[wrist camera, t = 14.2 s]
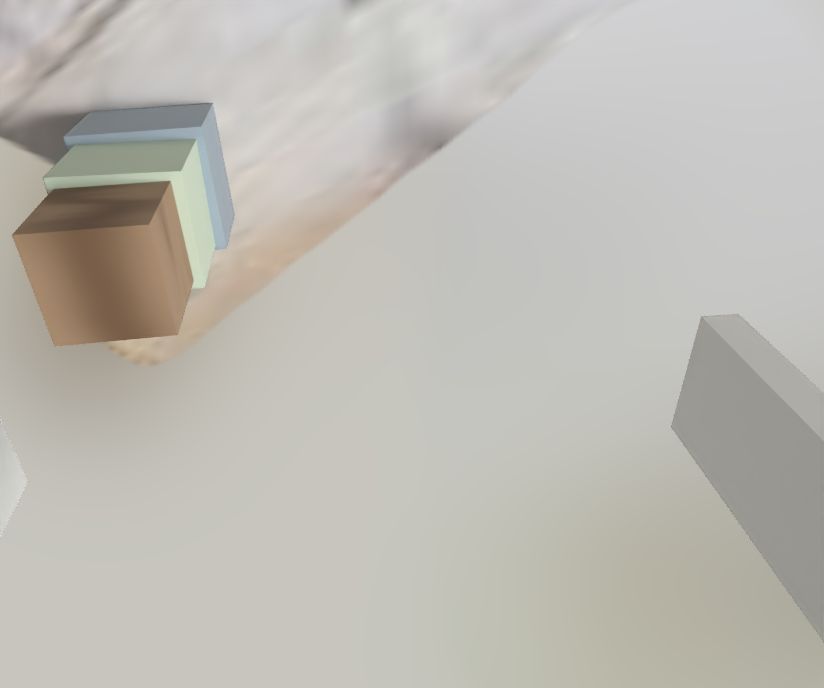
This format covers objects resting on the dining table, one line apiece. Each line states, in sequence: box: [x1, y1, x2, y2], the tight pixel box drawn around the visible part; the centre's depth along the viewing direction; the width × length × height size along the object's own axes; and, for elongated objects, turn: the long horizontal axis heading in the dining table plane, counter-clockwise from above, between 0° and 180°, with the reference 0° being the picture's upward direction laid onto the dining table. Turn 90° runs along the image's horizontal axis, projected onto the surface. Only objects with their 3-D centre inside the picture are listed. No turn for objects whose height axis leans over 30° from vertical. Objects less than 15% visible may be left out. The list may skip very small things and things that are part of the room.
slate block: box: [63, 103, 234, 250], centre depth 44 cm, size 8×8×6 cm
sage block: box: [43, 139, 216, 289], centre depth 40 cm, size 7×7×6 cm
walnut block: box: [12, 181, 194, 346], centre depth 35 cm, size 6×6×6 cm
